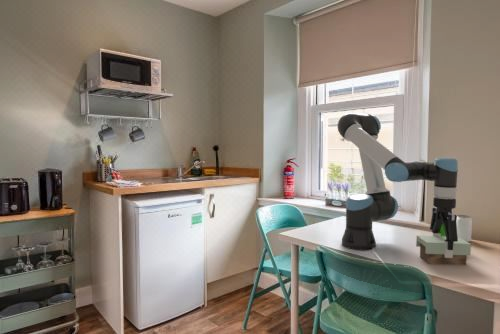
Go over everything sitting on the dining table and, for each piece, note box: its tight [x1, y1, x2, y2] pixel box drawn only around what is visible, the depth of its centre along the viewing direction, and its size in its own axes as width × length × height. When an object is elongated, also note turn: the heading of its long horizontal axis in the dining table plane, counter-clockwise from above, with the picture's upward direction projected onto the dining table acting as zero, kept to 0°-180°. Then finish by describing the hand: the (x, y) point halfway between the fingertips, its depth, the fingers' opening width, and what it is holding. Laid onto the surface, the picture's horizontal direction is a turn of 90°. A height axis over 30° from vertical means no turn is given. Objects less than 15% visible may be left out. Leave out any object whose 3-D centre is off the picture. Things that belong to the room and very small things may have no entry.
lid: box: [415, 235, 472, 256], centre depth 122 cm, size 16×9×4 cm, turn 83°
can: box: [456, 214, 473, 243], centre depth 151 cm, size 6×6×12 cm
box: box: [419, 243, 468, 266], centre depth 122 cm, size 14×7×7 cm, turn 83°
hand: (441, 253), depth 122 cm, fingers closed on lid, 9 cm apart
